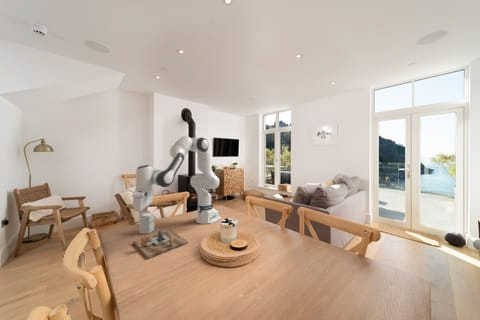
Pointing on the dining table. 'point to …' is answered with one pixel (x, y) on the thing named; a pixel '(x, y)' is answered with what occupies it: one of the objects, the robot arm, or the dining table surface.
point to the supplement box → (146, 223)
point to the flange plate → (153, 241)
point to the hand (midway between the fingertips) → (143, 213)
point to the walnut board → (165, 247)
